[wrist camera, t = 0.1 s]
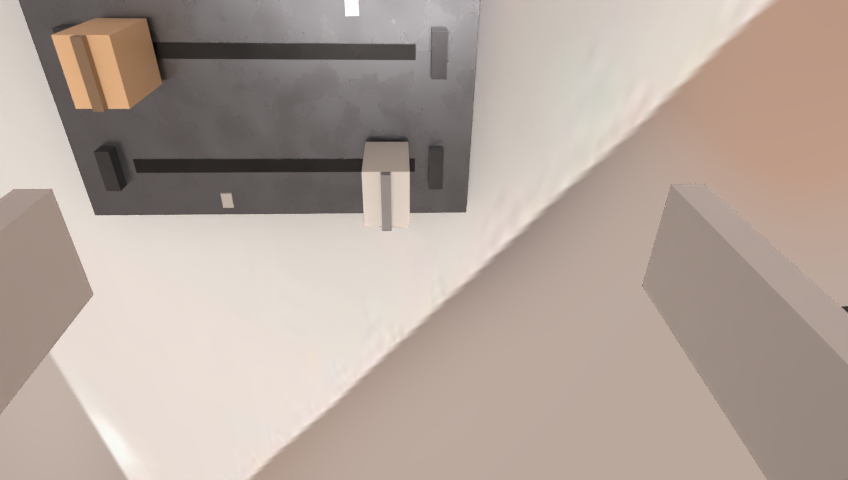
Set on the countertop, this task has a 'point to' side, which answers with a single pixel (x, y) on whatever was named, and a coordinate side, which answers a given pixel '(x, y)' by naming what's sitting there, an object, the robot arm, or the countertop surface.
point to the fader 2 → (386, 185)
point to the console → (274, 103)
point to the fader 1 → (108, 62)
